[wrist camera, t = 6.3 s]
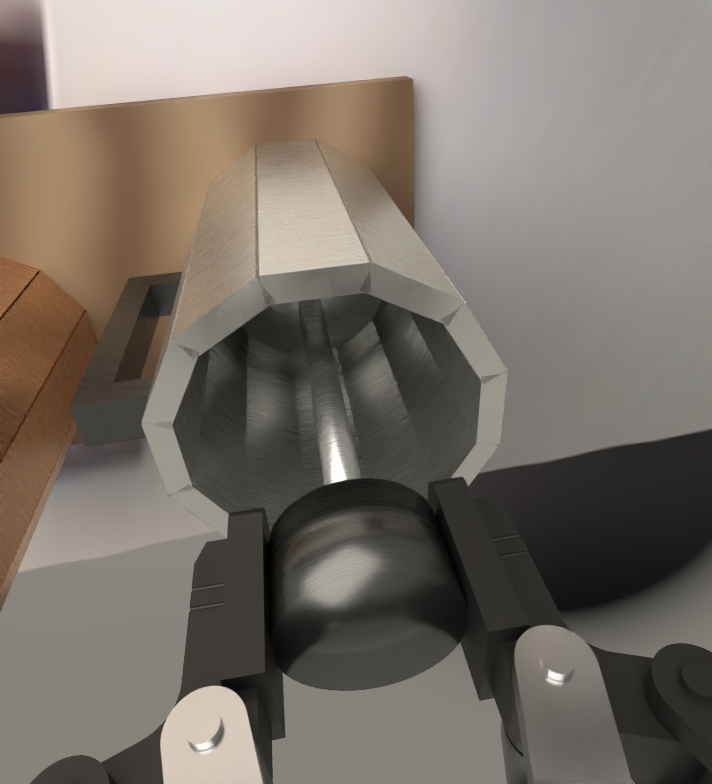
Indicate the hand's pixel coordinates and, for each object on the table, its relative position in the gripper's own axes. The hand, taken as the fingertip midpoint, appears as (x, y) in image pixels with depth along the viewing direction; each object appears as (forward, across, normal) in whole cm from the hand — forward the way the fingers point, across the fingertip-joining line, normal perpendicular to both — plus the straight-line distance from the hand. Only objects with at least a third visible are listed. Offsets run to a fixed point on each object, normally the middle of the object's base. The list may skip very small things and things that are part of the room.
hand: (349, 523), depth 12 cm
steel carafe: (+17, +1, 0) cm, 17 cm away
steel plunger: (+13, 0, 0) cm, 13 cm away
